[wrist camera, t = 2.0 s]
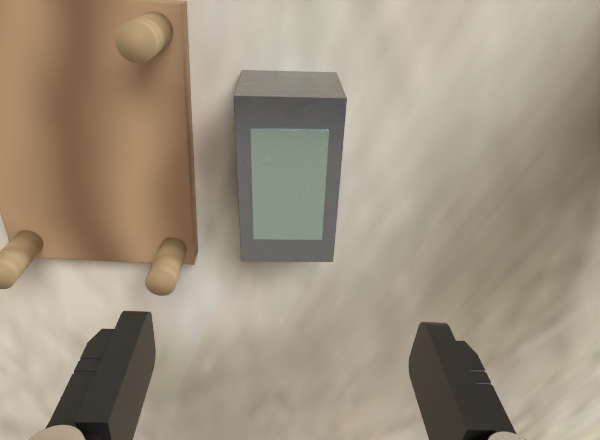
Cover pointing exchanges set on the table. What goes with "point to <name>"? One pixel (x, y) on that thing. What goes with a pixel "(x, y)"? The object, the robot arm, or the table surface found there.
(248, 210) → the grey rectangular block
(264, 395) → the table surface
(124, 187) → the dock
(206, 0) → the table surface
